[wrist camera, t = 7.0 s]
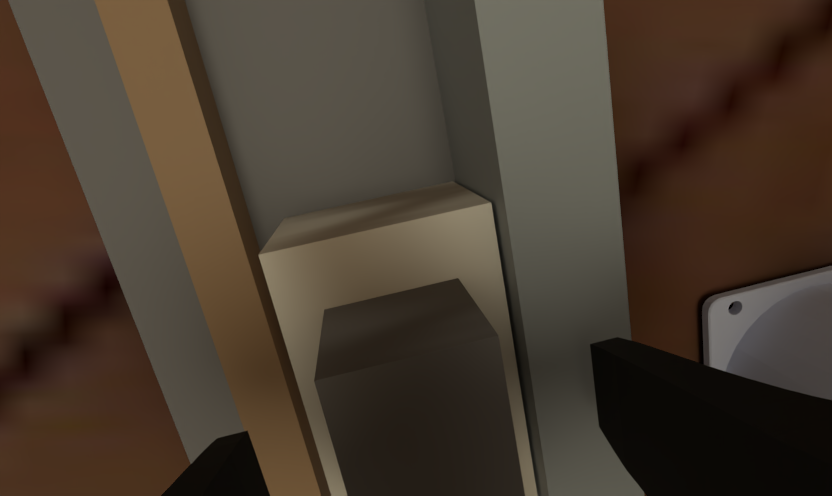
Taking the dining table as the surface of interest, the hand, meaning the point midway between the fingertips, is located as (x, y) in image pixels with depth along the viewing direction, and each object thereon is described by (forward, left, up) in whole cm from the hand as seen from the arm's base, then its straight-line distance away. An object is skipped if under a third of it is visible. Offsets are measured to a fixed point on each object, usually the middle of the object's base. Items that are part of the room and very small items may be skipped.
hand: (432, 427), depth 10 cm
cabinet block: (0, 0, -5) cm, 5 cm away
